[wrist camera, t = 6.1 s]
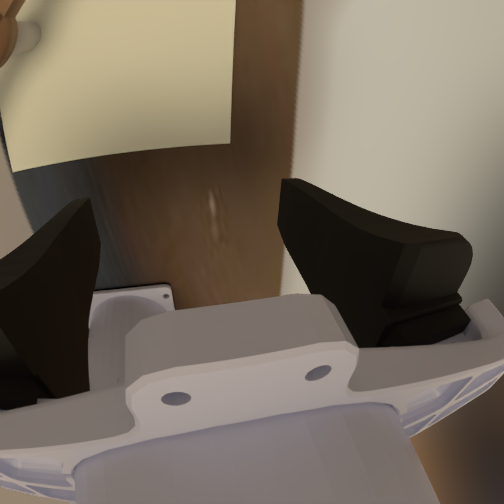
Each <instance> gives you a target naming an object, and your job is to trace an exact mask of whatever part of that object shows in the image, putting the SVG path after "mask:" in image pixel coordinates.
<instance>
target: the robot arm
mask: <svg viewBox="0 0 504 504" xmlns="http://www.w3.org/2000/svg"><path fill="white" fill-rule="evenodd" d="M277 225H278V228H279V231H280V234H281V237H282V239H283V242H284V244H285V246H286V248H287V250H288V252H289V254H290V256H291V257H292V259H293V261H294V263H295V265H296V267H297V268H298V270H299V272H300V274H301V276H302V278H303V280H304V281H305V283H306V285H307V287H308V289H309V291H310V293H311V294H290V295H284V296H277V297H271V298H264V299H257V300H250V301H243V302H236V303H229V304H221V305H214V306H206V307H198V308H190V309H182V310H175V308H174V302H173V296H172V290H171V287H170V286H169V285H167V284H162V285H153V286H143V287H134V288H124V289H114V290H104V291H94V288H95V283H96V278H97V273H98V268H99V261H100V248H101V242H100V238H99V234H98V230H97V226H96V222H95V218H94V214H93V210H92V205H91V201H90V198H83V199H77V200H74V201H72V202H71V203H69V204H68V205H67V206H65V207H64V208H63V209H62V210H61V211H60V212H58V213H57V214H56V215H55V216H54V217H53V218H52V219H51V220H49V221H48V222H47V223H46V224H45V225H44V226H43V227H41V228H40V229H39V230H38V231H37V232H36V233H34V234H33V235H32V236H31V237H30V238H29V239H27V240H26V241H25V242H24V243H23V244H21V245H20V246H19V247H17V248H16V249H15V250H13V251H12V252H10V253H9V254H8V255H6V256H5V257H3V258H2V259H0V487H3V488H7V489H11V490H15V491H19V492H23V493H27V494H32V495H36V496H41V497H46V498H52V499H57V500H63V501H69V504H440V503H439V500H438V498H437V496H436V494H435V492H434V490H433V487H432V485H431V483H430V481H429V479H428V477H427V475H426V473H425V471H424V468H423V466H422V464H421V462H420V460H419V458H418V456H417V454H416V452H415V450H414V448H413V446H412V444H411V442H410V440H409V438H410V437H412V436H414V435H416V434H417V433H419V432H421V431H423V430H424V429H426V428H428V427H430V426H431V425H433V424H435V423H436V422H438V421H439V420H441V419H443V418H444V417H446V416H448V415H449V414H451V413H452V412H454V411H456V410H457V409H459V408H460V407H462V406H463V405H465V404H467V403H468V402H470V401H471V400H473V399H474V398H476V397H477V396H479V395H480V394H482V393H483V392H485V391H486V390H488V389H489V388H490V387H491V386H492V385H493V384H494V383H495V382H496V381H497V380H498V379H499V378H500V377H501V376H502V375H503V373H504V317H503V316H502V315H501V314H500V312H499V311H498V310H497V309H496V307H495V306H494V305H493V304H492V303H491V302H490V300H489V299H485V300H483V301H480V302H477V303H475V304H472V305H470V306H469V307H467V308H466V309H465V310H463V309H462V308H461V306H460V305H459V304H460V303H461V302H462V297H461V296H460V295H459V294H458V293H457V291H458V289H459V287H460V286H461V284H462V282H463V280H464V278H465V276H466V274H467V272H468V270H469V267H470V265H471V261H472V256H473V252H472V246H471V244H470V243H469V242H468V241H467V240H466V239H465V238H464V237H463V236H462V235H461V234H459V233H457V232H451V231H444V230H438V229H432V228H427V227H422V226H417V225H413V224H409V223H405V222H401V221H398V220H395V219H391V218H388V217H385V216H381V215H379V214H376V213H374V212H371V211H368V210H366V209H363V208H361V207H358V206H356V205H354V204H352V203H350V202H347V201H345V200H343V199H341V198H339V197H336V196H335V195H333V194H331V193H329V192H327V191H325V190H323V189H321V188H319V187H317V186H315V185H313V184H310V183H308V182H306V181H304V180H301V179H298V178H291V179H282V182H281V192H280V202H279V213H278V223H277ZM164 294H168V295H164ZM88 329H90V333H89V341H88Z"/></svg>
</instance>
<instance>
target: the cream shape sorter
mask: <svg viewBox="0 0 504 504" xmlns="http://www.w3.org/2000/svg"><path fill="white" fill-rule="evenodd" d="M235 4H236V0H26V1H25V2H24V4H23V5H22V7H21V9H20V10H19V12H18V14H17V16H16V17H15V18H16V21H17V25H18V37H17V42H16V45H15V48H14V50H13V53H12V54H11V56H10V58H9V59H8V61H7V62H6V63H5V64H4V65H3V66H2V67H1V68H0V111H1V117H2V123H3V129H4V134H5V139H6V144H7V149H8V153H9V158H10V162H11V166H12V170H13V172H16V171H20V170H25V169H30V168H34V167H39V166H44V165H49V164H54V163H60V162H65V161H71V160H77V159H83V158H89V157H96V156H102V155H109V154H117V153H124V152H132V151H141V150H150V149H160V148H170V147H182V146H195V145H211V144H230V130H231V97H232V69H233V45H234V23H235Z"/></svg>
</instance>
